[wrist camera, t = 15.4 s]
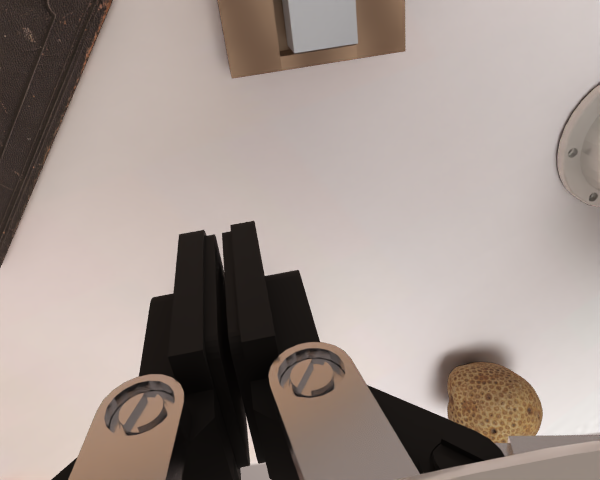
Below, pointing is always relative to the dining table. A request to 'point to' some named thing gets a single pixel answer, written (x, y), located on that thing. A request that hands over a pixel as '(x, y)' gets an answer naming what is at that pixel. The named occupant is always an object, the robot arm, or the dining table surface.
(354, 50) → the wooden key base
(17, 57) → the hardcover book
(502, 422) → the natural sponge
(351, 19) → the slate key
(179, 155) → the dining table surface
